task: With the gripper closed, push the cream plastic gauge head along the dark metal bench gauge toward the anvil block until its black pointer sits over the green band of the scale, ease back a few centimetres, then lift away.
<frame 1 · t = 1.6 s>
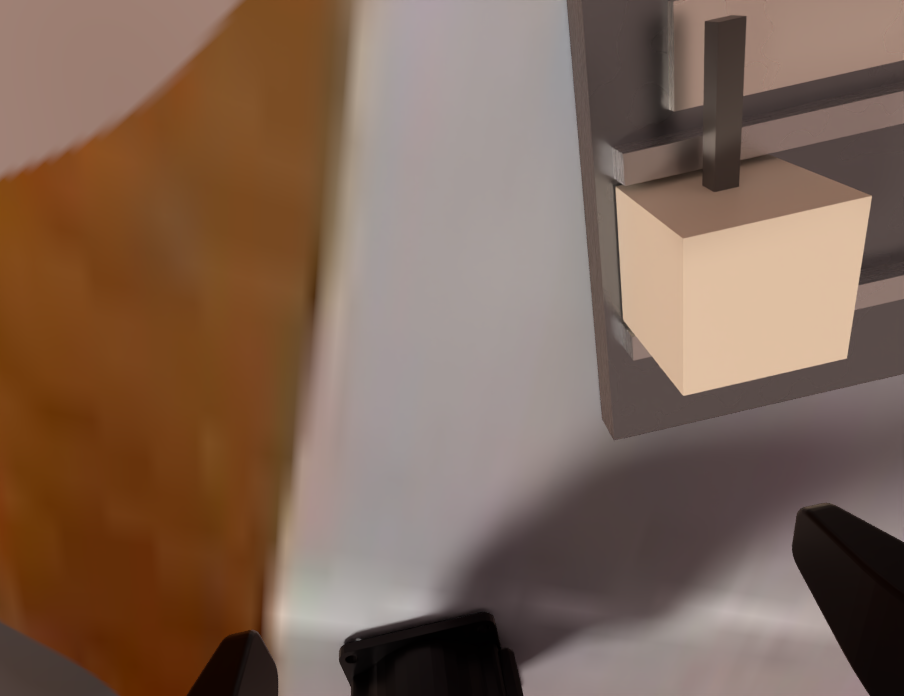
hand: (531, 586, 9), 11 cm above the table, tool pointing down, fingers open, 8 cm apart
bench gauge: (900, 173, 19), on the table
gauge head: (728, 198, 15), point 3 cm above the table, slide at 0.0 cm
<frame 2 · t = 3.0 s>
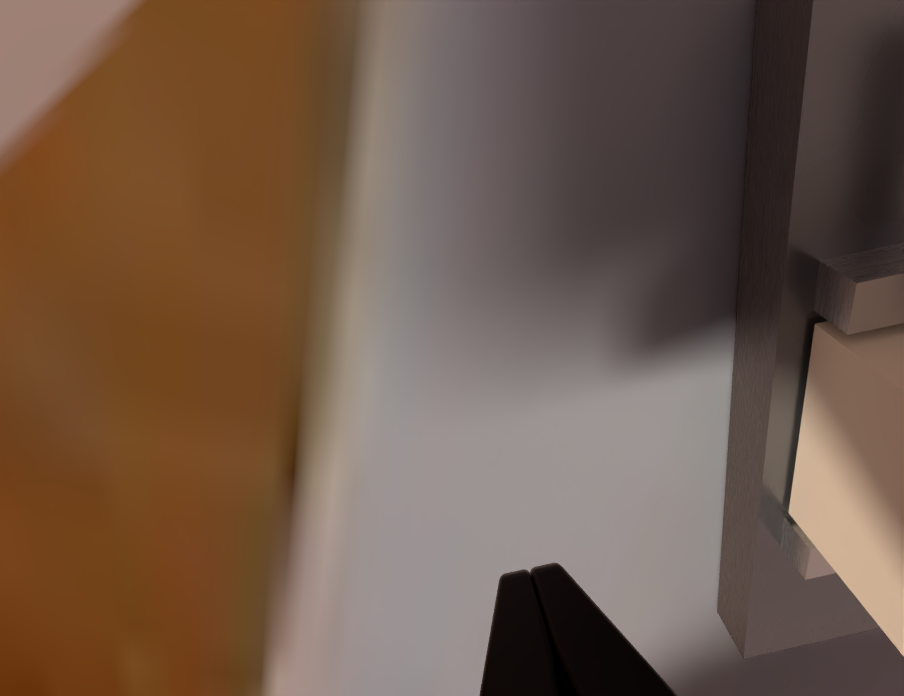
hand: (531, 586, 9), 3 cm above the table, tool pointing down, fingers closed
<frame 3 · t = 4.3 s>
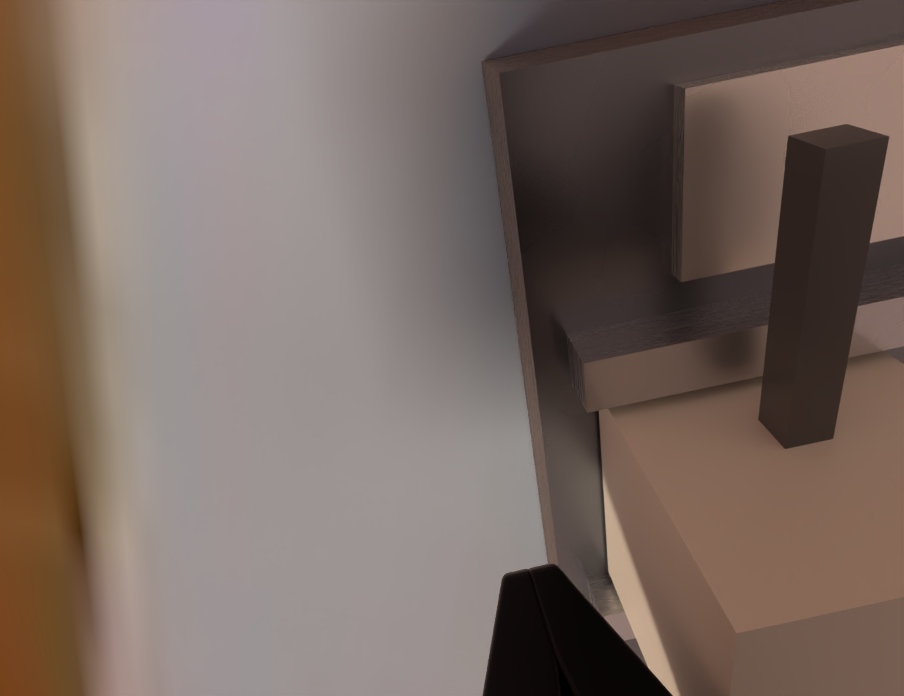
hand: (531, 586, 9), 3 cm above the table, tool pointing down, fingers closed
gauge head: (812, 461, 8), point 3 cm above the table, slide at 0.4 cm, touching gripper
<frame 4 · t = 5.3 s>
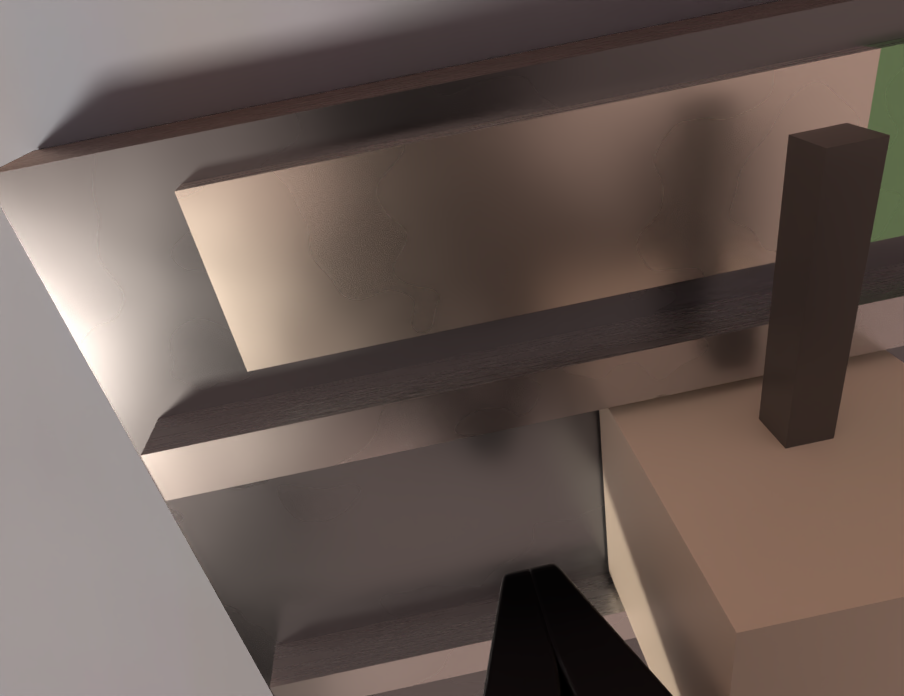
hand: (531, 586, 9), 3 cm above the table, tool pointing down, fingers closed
bench gauge: (735, 406, 11), on the table
gauge head: (812, 461, 8), point 3 cm above the table, slide at 6.1 cm, touching gripper
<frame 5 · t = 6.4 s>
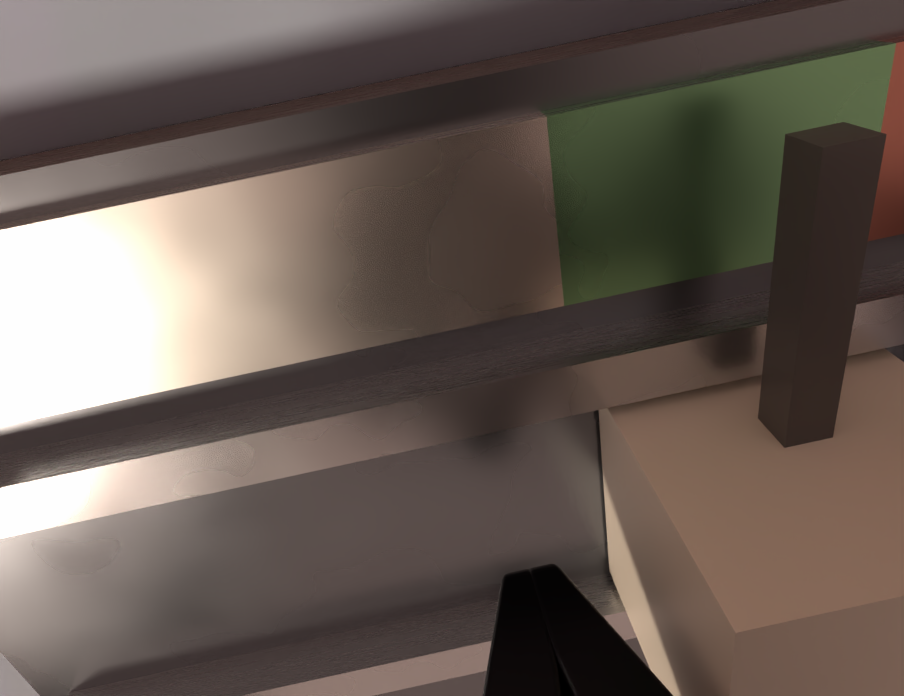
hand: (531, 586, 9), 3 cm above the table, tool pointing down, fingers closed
bench gauge: (530, 450, 11), on the table
gauge head: (811, 460, 8), point 3 cm above the table, slide at 9.9 cm, touching gripper
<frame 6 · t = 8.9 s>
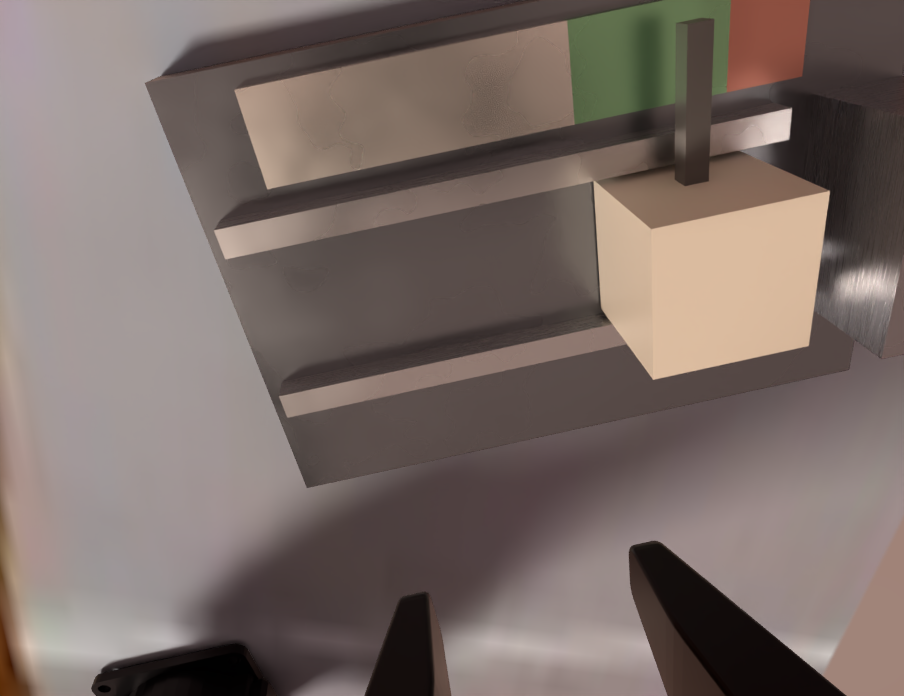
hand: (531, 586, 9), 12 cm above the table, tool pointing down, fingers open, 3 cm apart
bench gauge: (553, 239, 19), on the table
gauge head: (698, 192, 15), point 3 cm above the table, slide at 10.0 cm
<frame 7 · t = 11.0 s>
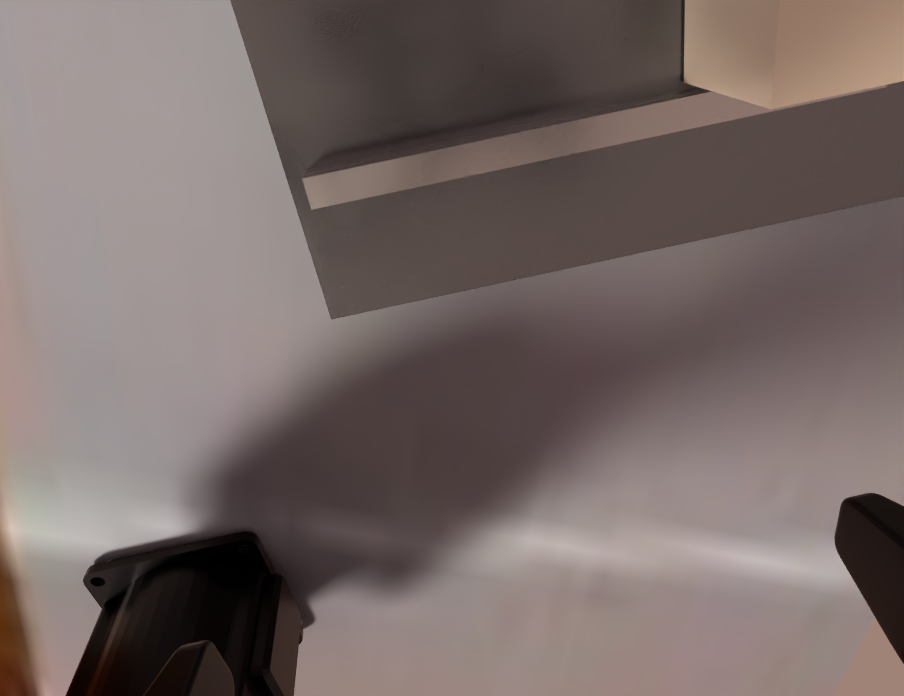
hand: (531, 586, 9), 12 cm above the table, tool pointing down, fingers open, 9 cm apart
bench gauge: (626, 1, 16), on the table
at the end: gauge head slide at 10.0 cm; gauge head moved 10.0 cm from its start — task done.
